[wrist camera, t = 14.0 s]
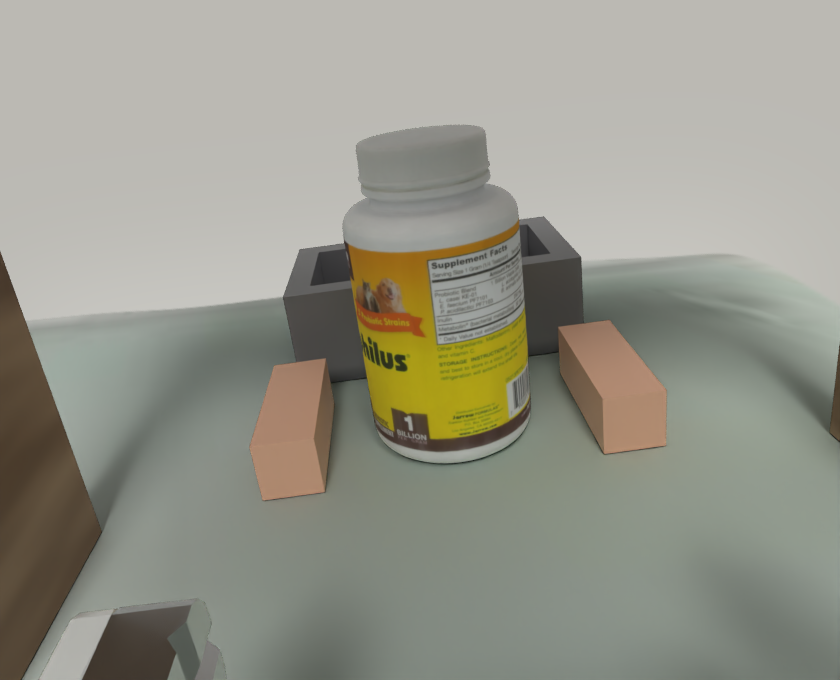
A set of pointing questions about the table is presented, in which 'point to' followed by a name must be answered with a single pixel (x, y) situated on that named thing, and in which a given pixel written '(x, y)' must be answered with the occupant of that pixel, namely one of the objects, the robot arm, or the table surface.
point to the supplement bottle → (439, 295)
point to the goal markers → (579, 366)
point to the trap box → (336, 315)
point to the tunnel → (51, 494)
